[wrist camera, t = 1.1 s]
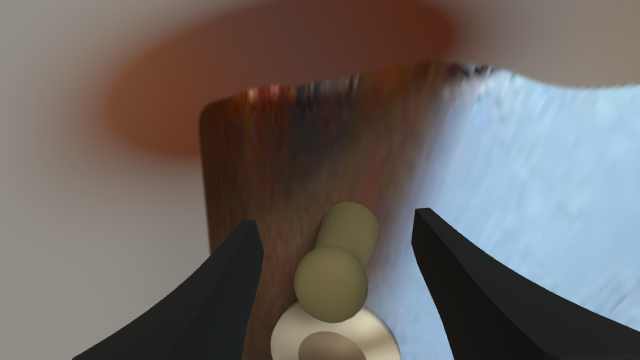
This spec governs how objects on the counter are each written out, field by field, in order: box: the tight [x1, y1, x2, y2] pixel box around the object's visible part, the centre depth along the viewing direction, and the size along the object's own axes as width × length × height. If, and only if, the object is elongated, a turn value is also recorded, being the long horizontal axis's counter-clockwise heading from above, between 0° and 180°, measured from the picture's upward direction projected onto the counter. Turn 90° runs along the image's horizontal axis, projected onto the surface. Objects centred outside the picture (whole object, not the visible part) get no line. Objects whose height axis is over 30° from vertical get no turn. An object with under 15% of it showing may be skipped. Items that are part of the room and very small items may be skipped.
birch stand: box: [271, 301, 401, 360], centre depth 31 cm, size 15×15×2 cm
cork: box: [294, 202, 379, 323], centre depth 22 cm, size 6×6×11 cm
